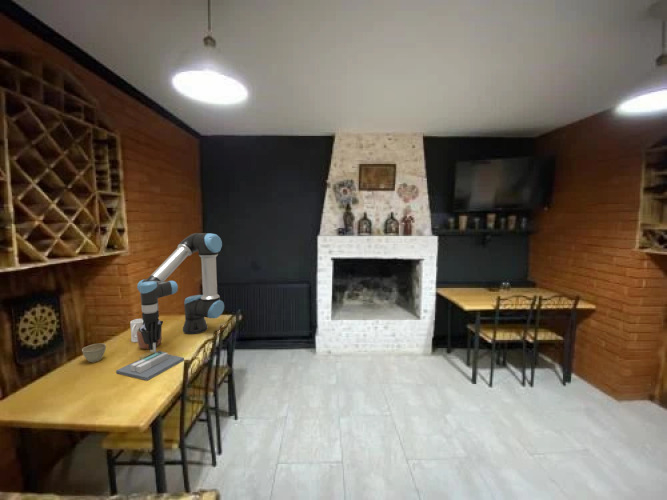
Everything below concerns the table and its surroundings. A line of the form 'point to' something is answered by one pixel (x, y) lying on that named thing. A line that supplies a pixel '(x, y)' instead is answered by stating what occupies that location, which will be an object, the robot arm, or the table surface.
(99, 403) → the table surface
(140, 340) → the planter
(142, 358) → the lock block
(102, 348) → the grey bowl
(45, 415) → the table surface
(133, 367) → the tong arm
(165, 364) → the board
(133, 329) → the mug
